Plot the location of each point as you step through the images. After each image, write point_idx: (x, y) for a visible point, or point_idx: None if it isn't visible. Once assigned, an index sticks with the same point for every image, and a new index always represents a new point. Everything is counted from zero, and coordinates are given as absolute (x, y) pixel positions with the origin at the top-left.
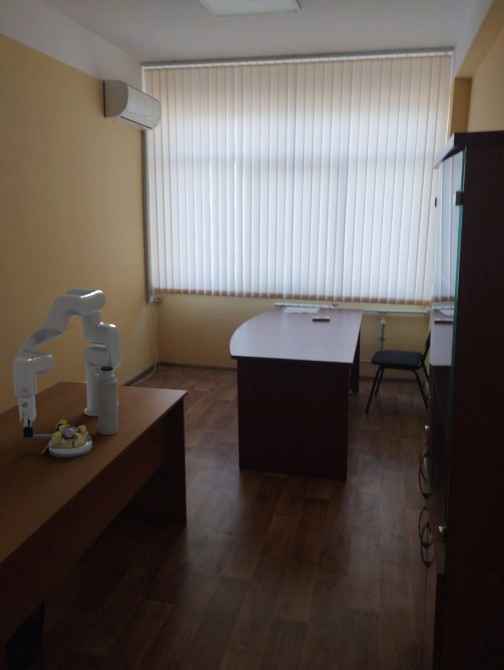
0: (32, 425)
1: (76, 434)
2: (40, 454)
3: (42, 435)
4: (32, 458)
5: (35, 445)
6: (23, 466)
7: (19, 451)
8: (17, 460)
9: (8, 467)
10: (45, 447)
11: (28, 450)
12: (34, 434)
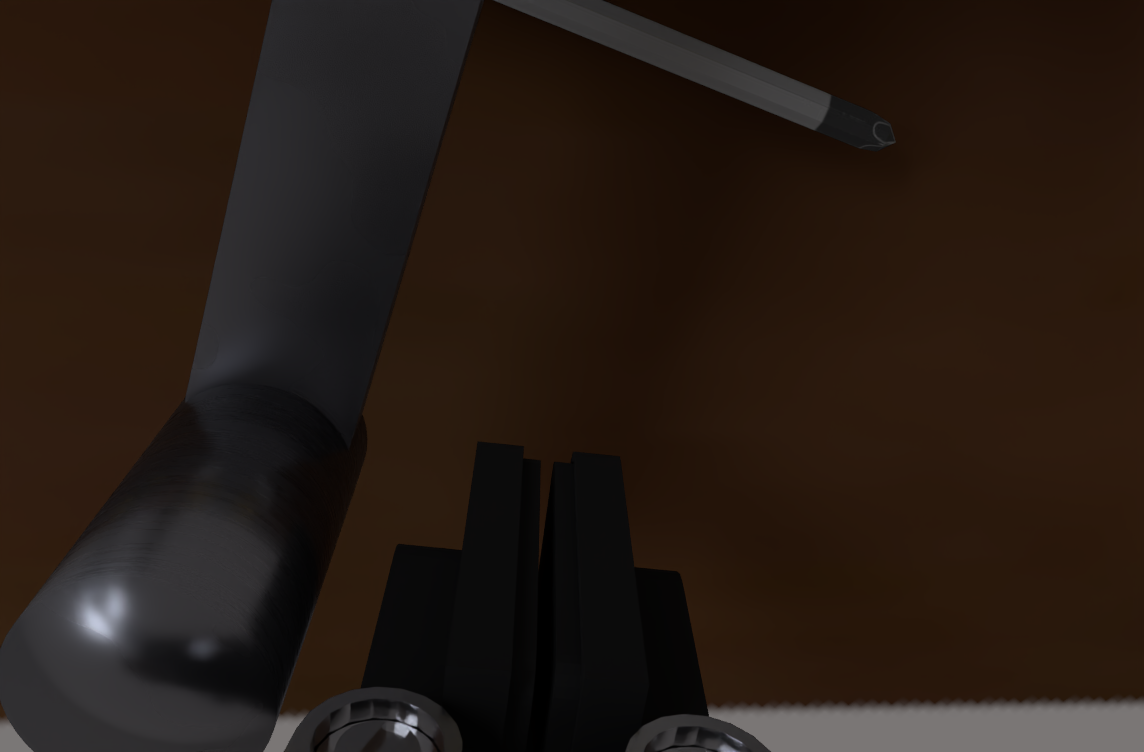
0: (160, 599)
1: None
2: (873, 149)
3: (371, 115)
4: (833, 299)
5: (156, 216)
6: (1112, 458)
7: (395, 515)
8: (798, 547)
9: (1013, 668)
10: (553, 9)
11: (397, 361)
12: (222, 358)
